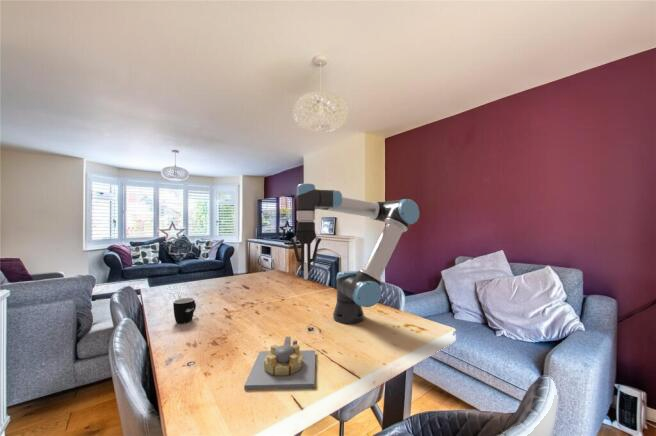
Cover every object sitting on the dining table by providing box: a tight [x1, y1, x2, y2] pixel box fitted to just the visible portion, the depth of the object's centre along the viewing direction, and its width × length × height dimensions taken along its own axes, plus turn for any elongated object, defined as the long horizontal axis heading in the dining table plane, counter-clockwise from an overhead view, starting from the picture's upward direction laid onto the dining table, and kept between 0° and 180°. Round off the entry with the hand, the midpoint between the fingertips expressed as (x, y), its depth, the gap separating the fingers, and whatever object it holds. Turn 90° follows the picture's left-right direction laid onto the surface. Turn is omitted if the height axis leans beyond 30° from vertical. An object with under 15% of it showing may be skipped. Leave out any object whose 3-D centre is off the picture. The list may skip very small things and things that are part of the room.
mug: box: [172, 297, 197, 325], centre depth 130 cm, size 12×9×10 cm
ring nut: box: [264, 336, 303, 376], centre depth 91 cm, size 20×12×4 cm, turn 3°
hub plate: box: [243, 340, 316, 390], centre depth 87 cm, size 20×20×6 cm
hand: (305, 278), depth 110 cm, fingers closed
